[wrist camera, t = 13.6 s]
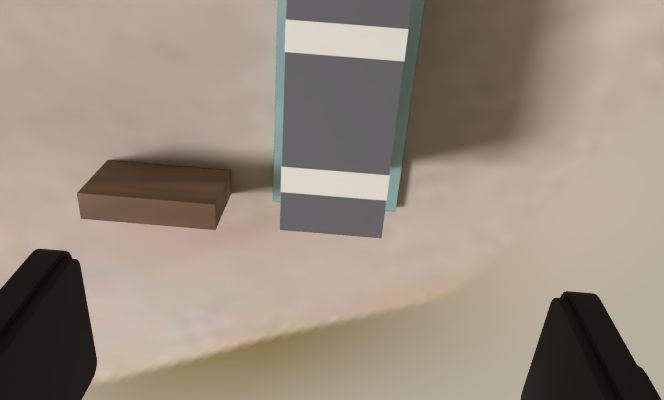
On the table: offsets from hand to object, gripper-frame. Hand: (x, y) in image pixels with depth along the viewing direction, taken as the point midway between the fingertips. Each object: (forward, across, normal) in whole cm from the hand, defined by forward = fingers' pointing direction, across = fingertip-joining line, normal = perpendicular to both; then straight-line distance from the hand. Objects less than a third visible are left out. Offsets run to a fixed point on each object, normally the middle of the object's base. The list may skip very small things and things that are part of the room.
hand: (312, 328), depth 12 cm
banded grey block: (+20, 0, +1) cm, 20 cm away
